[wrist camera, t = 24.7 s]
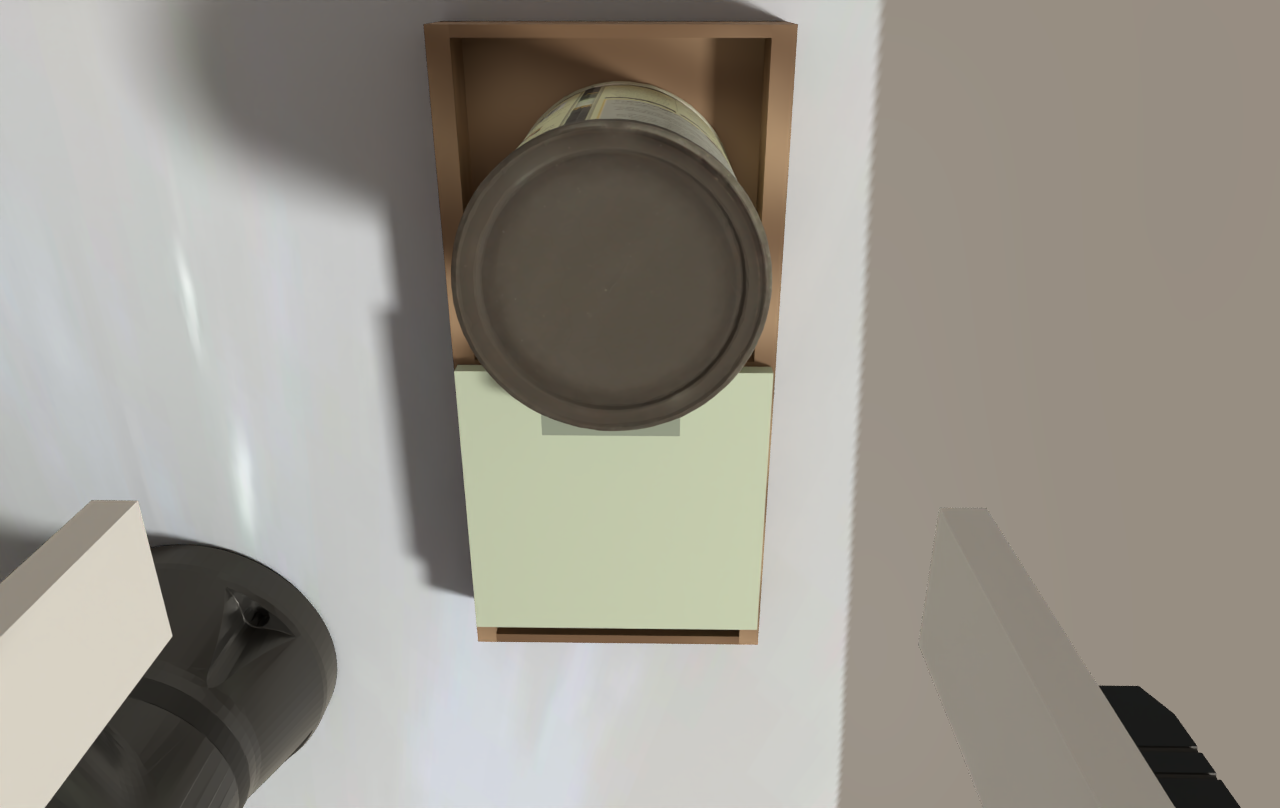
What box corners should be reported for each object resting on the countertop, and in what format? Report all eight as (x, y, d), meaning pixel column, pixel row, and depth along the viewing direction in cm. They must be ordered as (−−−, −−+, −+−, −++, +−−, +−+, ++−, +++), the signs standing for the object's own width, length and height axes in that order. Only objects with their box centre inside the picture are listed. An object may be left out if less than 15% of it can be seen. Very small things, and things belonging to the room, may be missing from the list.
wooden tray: (751, 604, 53) (757, 644, 50) (489, 602, 53) (478, 641, 50) (786, 21, 40) (797, 24, 37) (441, 21, 40) (423, 24, 37)
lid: (755, 620, 49) (763, 668, 45) (479, 617, 49) (465, 665, 46) (771, 366, 43) (781, 400, 40) (457, 364, 43) (440, 397, 40)
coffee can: (694, 331, 45) (710, 467, 32) (488, 267, 44) (419, 383, 31) (770, 121, 41) (822, 182, 28) (545, 46, 40) (492, 73, 27)
